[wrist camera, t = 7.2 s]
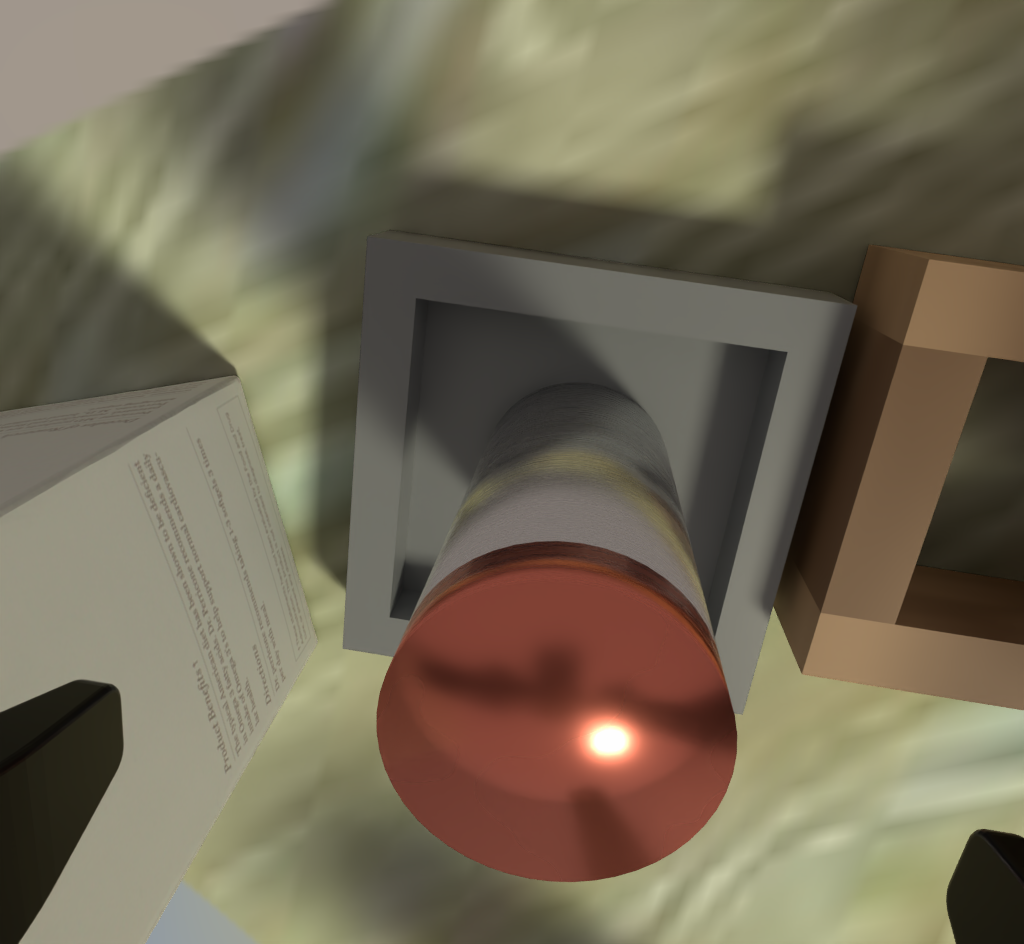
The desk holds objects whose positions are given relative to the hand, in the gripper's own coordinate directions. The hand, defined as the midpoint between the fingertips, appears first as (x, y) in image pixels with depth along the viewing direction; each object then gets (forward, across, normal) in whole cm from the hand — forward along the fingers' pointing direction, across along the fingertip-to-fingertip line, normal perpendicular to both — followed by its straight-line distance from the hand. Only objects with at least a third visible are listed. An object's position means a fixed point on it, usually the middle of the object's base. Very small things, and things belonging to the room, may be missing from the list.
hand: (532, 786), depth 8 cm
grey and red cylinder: (+10, 0, 0) cm, 10 cm away
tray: (+10, 0, 0) cm, 10 cm away
